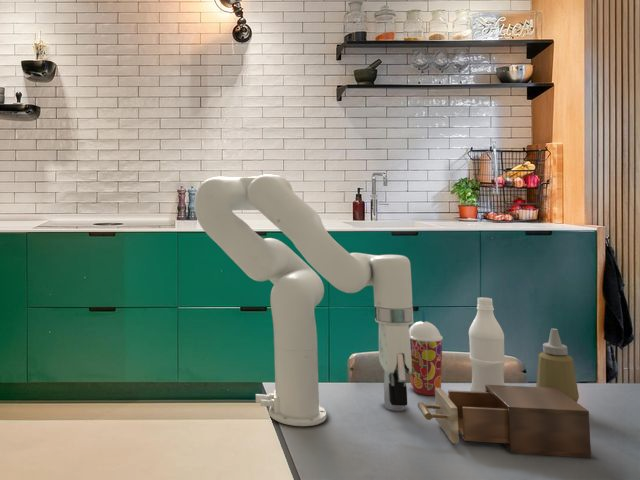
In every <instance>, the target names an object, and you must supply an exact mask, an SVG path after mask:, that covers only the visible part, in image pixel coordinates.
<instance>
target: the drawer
mask: <svg viewBox="0 0 640 480" xmlns="http://www.w3.org/2000/svg"><path fill="white" fill-rule="evenodd" d="M447 393H448V395H447V394H446V393H445V392H444V390H443V388H442V387H441V388H435V395H434V400H435V401H434V404H425V403H424V402H421V401H420V402H418V403H417V407H418V409H419V411H420V412H421V414H422V415H423V417H424V418H425V420H427V421H431V420H432V419H435V420H436V422H437V423H438V424H439V426H440V428H441V429H442V431H443V432H444V433H445V435H446V436H447V438H448V439H449V440H450V442H451V444H460V439H459V438H460V437H459V435H460V436H461V437H462V439H463V440H464V441H465V442H479V443H495V444H503V443H509V427H508V409H507V408H506V407H505V406H504V405H502V404H501V403H500V402H499V401H498V400H497V399H496V398H495V397H494V396H493V395H492V394H491V393H490V392H475V391H471V390H451V389H448V390H447ZM429 409H431V410H435V413H431V412H430V410H429Z"/></svg>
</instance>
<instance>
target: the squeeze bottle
mask: <svg viewBox="0 0 640 480" xmlns="http://www.w3.org/2000/svg"><path fill="white" fill-rule="evenodd" d="M558 330H559V329H558V328H550V332H549V337H548V342H544V343H543V344H542V352H540V353H538V357H537V358H538V360H537V373H536V386H535V387H549V388H557V389H558V390H560V391H561V392H563V393H564V394H565V395H567V396H568V397H570V398H571V399H572V400H574V401H575V402H577V403H578V401H579V398H580V394H579V388H578V381H577V376H576V370H575V364H574V358H572V356H570V355H568V352H569V351H568V346H567V345H565V344H562V340H561V338H560V334H559V331H558Z"/></svg>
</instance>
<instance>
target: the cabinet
mask: <svg viewBox="0 0 640 480" xmlns="http://www.w3.org/2000/svg"><path fill="white" fill-rule="evenodd" d="M485 392H490V393H491V394H492V395H493V396H494V397H495V398H496V399H497V400H498V401H499V402H500V403H501V404H502V405H504V406H505V407H506V408H507V409H508V427H509V443H502V445H504V447H505V448H506V449H507V450H508V451H509V452H510V453H511V454H524V455H541V456H556V457H571V458H586V459H587V458H588V459H592V447H591V427H590V410H588V409H587V408H586V407H584V406H582V405H581V403H578V401H577V402H575V401H574V400H572V399H571V398H570V397H568V396H567V395H565V394H564V393H563V392H561V391H560V390H558V389H557V388H549V387H536V386H524V385H523V386H522V385H505V386H503V385H485Z"/></svg>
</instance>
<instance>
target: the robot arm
mask: <svg viewBox="0 0 640 480" xmlns="http://www.w3.org/2000/svg"><path fill="white" fill-rule="evenodd" d="M193 204H194V206H193V207H194V208H193V209H194V214H195V218H196V220H197V222H198V224H199V225H200V227H201V228H202V230H203V231H204V233H205V234H206V235H207V236H208V237H209V238H210V239H211V240H212V241H213V242H215V243H216V244H217V246H219V248H221V250H222V251H223V252H224V253H225V254H226V255H227V256H228V257H229V258H230V259H231V260H232V261H233V262H234V263H235V264H236V265H237V266H238V267H239V268H240V269H241V270H242V271H243V273H244V274H245V275H246V276H248V277H249V278H250V279H252V280H253V281H256V282H265V281H270V282H271V283H272V284H273V286H272V288H271V291H270V295H269V296H270V298H269V300H270V301H269V303H270V310H271V317H272V326H273V327H272V329H273V347H274V348H273V349H274V350H273V351H274V353H273V354H274V387H275V389H274V390H273V392H272V393H271V392H270V393H269V394H263V393H255V403H256V404H260V407H269V408H268V413H269V414H268V415H269V417H270V418H271V419H273V420H274V421H275V422H278V423H280V424H283V425H288V426H292V427H293V426H294V427H311V426H317V425H320V424H322V423H324V422H325V421H327V410H326V409H325V408H324V407H323V406H321V405H320V396H319V395H320V392H319V356H318V353H319V352H318V333H317V332H318V331H317V323H316V317H315V316H316V314H315V308H316V307H317V306H318V305H319V304H320V303H321V301H322V300H323V298H324V294H325V286H324V283H323V281H322V279H321V277H320V276H319V275H321V276H322V277H323V278H324V279H325V280H326V281H327V282H328V283H329V284H330V285H331V286H333V288H336V289H337V290H339V291H341V292H343V293H347V294H354V293H355V294H356V293H358V292H360V291H361V290H363V289H364V288H366V287H372V288H373V305H374V321H375V323H378V361H379V364H380V366H381V368H382V369H384V370H385V372H386V373H387V374H388V375H389V382H390V383H389V399H390V403H391V404H392V405H401V406H405V407H406V406H408V389H407V375H408V376H410V373H411V372H412V361H411V345H410V334H409V328H410V326H412V325H413V324H414V323H415V322H414V307H413V306H414V305H413V286H412V285H413V283H412V268H411V261H410V259H409V258H408V257H407V256H406V255H403V254H402V255H401V254H379V255H378V254H369V253H364V252H362V253H361V252H349V251H347V250H346V249H345V248H344V247H343V246H342V245H340V243H339V242H337V241H336V240H335V239H334V238H333V237H332V235H331V234H330V233H329V232H328V231H327V230H326V228H325V225H324V224H323V221H322V218H321V217H320V215H319V213H318V212H317V211H316V210H314V209H313V208H312V207H311V206H310V205H309V204H308V203H306V202H305V201H304V200H303V199H302V198H300V196H298V195H297V194H296V193H295V192H294V190H293V186H292V184H291V182H289V180H288V179H286V178H285V177H283V176H281V175H278V174H270V173H269V174H267V173H266V174H261V175H258V176H239V177H237V176H236V177H235V176H234V177H232V176H231V177H229V176H213V177H210V178H207V179H206V180H204V181H202V183H201V184H200V185H198V188H197V190H196V192H195V195H194V203H193ZM233 211H258V212H259V213H260V214H262V216H264V217H265V218H266V219H267V220H269V221H270V223H272V224H273V226H275V227H276V228H277V229H278V230H279V231H281V232H282V233H283V235H285V236H286V238H288V239H289V240H290V241H291V242H292V243H293V245H294V247H295V248H296V249H297V250H298V252H299V253H300V254H301V255H302V257H304V259H305V260H306V262H307V263H306V262H305V261H304V260H303V259H302V258H301V257H300V256H299V255H298V254H296V253H295V252H294V251H293V250H292V248H290V247H289V246H288V245H287V244H285V243H284V242H283V241H281V240H279V239H278V238H277V239H276V238H274V237H273V238H272V237H267V238H266V237H265V238H264V237H262V236H260V235H259V234H258V233H257V232H256V231H254V229H252V227H250V225H249V224H248V223H247V222H246V221H245V220H243V219H242V218H240V217H239V216H238V215H236V214H235V212H233ZM308 264H309V265H308ZM310 266H311V267H312V268H311V267H310Z"/></svg>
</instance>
